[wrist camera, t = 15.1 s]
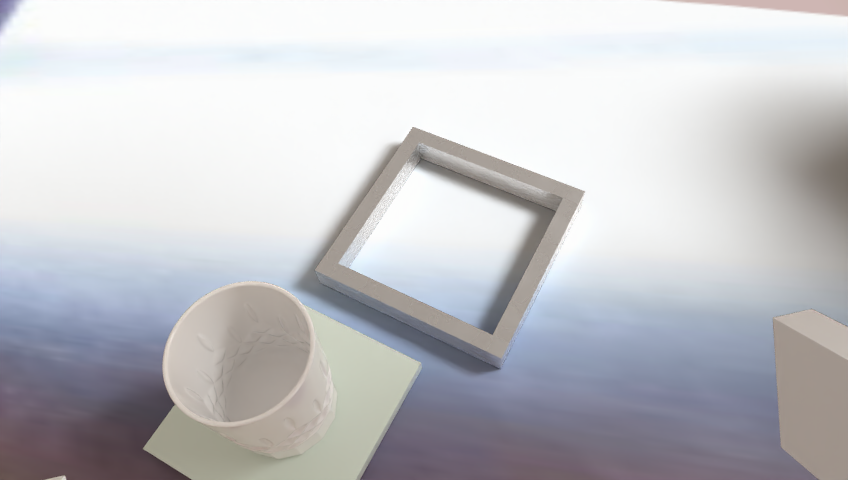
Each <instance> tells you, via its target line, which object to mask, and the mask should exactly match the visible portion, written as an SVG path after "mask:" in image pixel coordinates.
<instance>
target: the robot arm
mask: <svg viewBox="0 0 848 480" xmlns="http://www.w3.org/2000/svg"><path fill="white" fill-rule="evenodd" d="M773 329H774V345H775V361H776V376H777V392H778V408H779V424H780V440H781V448H783V449H784V450H785V451H786V452H787V453H788V454H790V455H791V456H792V457H793V458H794V459H795V460H797V461H798V462H799V463H800V464H801V465H802V466H803V467H805V468H806V469H807V470H808V471H809V472H810V473H812V474H813V475H814V476H815V477H816V478H817V479H819V480H848V327H847V326H845V325H843V324H841V323H839V322H837V321H835V320H833V319H831V318H829V317H827V316H825V315H823V314H821V313H819V312H817V311H815V310H813V309H809V310H805V311H800V312H796V313H791V314H787V315H782V316H778V317H773ZM46 480H66V477H65V475H64V476H59V477H55V478H50V479H46Z"/></svg>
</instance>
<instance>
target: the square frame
mask: <svg viewBox="0 0 848 480" xmlns="http://www.w3.org/2000/svg"><path fill="white" fill-rule="evenodd" d="M420 159H424V160H426V161H429V162H431V163H434V164H437V165H439V166H442V167H444V168H447V169H449V170H452V171H454V172H457V173H460V174H462V175H465V176H467V177H470V178H472V179H475V180H478V181H480V182H483V183H485V184H488V185H490V186H493V187H495V188H498V189H501V190H503V191H506V192H508V193H511V194H513V195H516V196H519V197H521V198H524V199H526V200H529V201H531V202H534V203H536V204H539V205H542V206H544V207H547V208H549V209H552V210H554V211H556V213H555V215H554V217H553V219H552V221H551V223H550V225H549V226H548V228H547V230H546V232H545V234H544V236H543V238H542V240H541V242H540V244H539V246H538V248H537V250H536V252H535V254H534V256H533V258H532V259H531V261H530V263H529V265H528V267H527V269H526V271H525V273H524V275H523V277H522V279H521V281H520V283H519V285H518V287H517V289H516V290H515V292H514V294H513V296H512V298H511V300H510V302H509V304H508V306H507V308H506V310H505V312H504V314H503V316H502V318H501V320H500V322H499V323H498V325H497V327H496V329H495V331H494V333H493V335H491V334H489V333H487V332H485V331H483V330H481V329H478V328H476V327H474V326H472V325H470V324H468V323H466V322H463V321H461V320H459V319H457V318H455V317H453V316H450V315H448V314H446V313H444V312H442V311H440V310H437V309H435V308H433V307H431V306H429V305H427V304H425V303H422V302H420V301H418V300H416V299H414V298H412V297H409V296H407V295H405V294H403V293H401V292H399V291H397V290H394V289H392V288H390V287H388V286H386V285H384V284H381V283H379V282H377V281H375V280H373V279H371V278H368V277H366V276H364V275H362V274H360V273H358V272H356V271H353V270H351V269H349V266H350V265H351V263H352V262H353V260H354V259H355V257H356V256H357V254H358V253H359V251H360V250H361V248H362V247H363V245H364V244H365V242H366V241H367V239H368V238H369V236H370V235H371V233H372V232H373V230H374V229H375V227H376V226H377V224H378V223H379V221H380V220H381V218H382V217H383V215H384V214H385V212H386V211H387V209H388V207H389V206H390V204H391V203H392V201H393V200H394V198H395V197H396V195H397V194H398V192H399V191H400V189H401V188H402V186H403V185H404V183H405V182H406V180H407V179H408V177H409V176H410V174H411V173H412V171H413V170H414V168H415V167H416V165H417V164H418V162H419V161H420ZM584 193H585V191H582V190H580V189H577V188H574V187H572V186H569V185H566V184H564V183H561V182H558V181H556V180H553V179H550V178H548V177H545V176H542V175H540V174H537V173H534V172H532V171H529V170H526V169H524V168H521V167H518V166H516V165H513V164H510V163H508V162H505V161H503V160H500V159H497V158H495V157H492V156H489V155H487V154H484V153H481V152H479V151H476V150H473V149H471V148H468V147H465V146H463V145H460V144H457V143H455V142H452V141H449V140H447V139H444V138H441V137H439V136H436V135H433V134H431V133H428V132H425V131H423V130H420V129H417V128H415V127H413V128H412V129H411V131H410V132H409V134H408V135H407V137H406V138H405V140H404V141H403V142H402V144H401V145H400V147H399V148H398V150H397V151H396V153H395V154H394V156H393V157H392V158H391V160H390V161H389V163H388V164H387V166H386V167H385V169H384V170H383V171H382V173H381V174H380V176H379V177H378V179H377V180H376V182H375V183H374V185H373V186H372V187H371V189H370V190H369V192H368V193H367V195H366V196H365V198H364V199H363V201H362V202H361V203H360V205H359V206H358V208H357V209H356V211H355V212H354V214H353V215H352V217H351V218H350V219H349V221H348V222H347V224H346V225H345V227H344V228H343V230H342V231H341V233H340V234H339V235H338V237H337V238H336V240H335V241H334V243H333V244H332V246H331V247H330V249H329V250H328V251H327V253H326V254H325V256H324V257H323V259H322V260H321V262H320V263H319V265H318V266H317V267H316V269H315V272H316V274H317V277H318V279H319V281H320V283H321V284H323V285H326V286H328V287H330V288H332V289H334V290H336V291H338V292H340V293H342V294H344V295H346V296H348V297H351V298H353V299H355V300H357V301H359V302H361V303H363V304H365V305H367V306H369V307H371V308H374V309H376V310H378V311H380V312H382V313H384V314H386V315H388V316H390V317H392V318H394V319H397V320H399V321H401V322H403V323H405V324H407V325H409V326H411V327H413V328H415V329H417V330H419V331H422V332H424V333H426V334H428V335H430V336H432V337H434V338H436V339H438V340H440V341H442V342H445V343H447V344H449V345H451V346H453V347H455V348H457V349H459V350H461V351H463V352H465V353H468V354H470V355H472V356H474V357H476V358H478V359H480V360H482V361H484V362H486V363H488V364H490V365H493V366H495V367H497V368H499V369H501V367H502V365H503V363H504V361H505V359H506V357H507V355H508V353H509V351H510V349H511V347H512V345H513V343H514V341H515V339H516V337H517V335H518V333H519V331H520V329H521V327H522V325H523V323H524V321H525V319H526V317H527V315H528V313H529V311H530V309H531V307H532V305H533V303H534V301H535V299H536V297H537V295H538V293H539V291H540V289H541V287H542V285H543V283H544V281H545V278H546V276H547V274H548V272H549V270H550V268H551V266H552V264H553V262H554V260H555V258H556V256H557V254H558V252H559V250H560V248H561V246H562V244H563V242H564V240H565V238H566V236H567V234H568V232H569V230H570V228H571V226H572V224H573V222H574V220H575V218H576V216H577V214H578V212H579V210H580V208H581V205H582V201H583V197H584Z"/></svg>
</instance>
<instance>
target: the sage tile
mask: <svg viewBox="0 0 848 480" xmlns="http://www.w3.org/2000/svg"><path fill="white" fill-rule="evenodd" d="M303 306H304V307H305V309H306V310H307V312H308V314H309V316H310V318H311V320H312V323H313V326H314V328H315V331H316V333H317V336H318V338H319V340H320V343H321V346H322V348H323V351H324V353H325V355H326V358H327V361H328V364H329V367H330V370H331V374H332V381H333V383H334V386H335V388H336V391H337V404H336V414H335V419H334V420H333V422H332V424H331V426H330V427H329V429H328V431H327V432H326V434H325V436H324V438H323V439H322V440H321V441H319V442H318V443H317V444H315V445H314V446H313V447H311V448H310V449H309V450H307V451H306V452H304V453H303V454H301V455H296V456H291V457H287V458H282V459H275V458H271V457H267V456H263V455H260V454H256V453H254V452H252V451H251V450H248V449H246V448H244V447H241V446H239V445H237V444H235V443H234V442H232V441H230V440H228V439H226V438H224V437H222V436H221V435H219V434H217V433H216V432H214V431H212V430H211V429H209V428H207V427H206V426H204V425H202V424H201V423H199V422H197V421H195V420H194V419H192V418H190V417H189V416H187V415H186V414H185V413H183V412H182V411H181V410H180V409H179V408H178V407H177V406H176V405H174V406H173V408H172V409H171V410H170V412H169V413H168V415H167V416H166V417H165V419H164V420H163V422H162V423H161V424H160V426H159V427H158V428H157V430H156V431H155V433H154V434H153V435H152V437H151V438H150V440H149V441H148V442H147V444H146V445H145V446H144V448H143V449H144V450H146V451H147V452H149V453H150V454H152V455H154V456H155V457H157V458H158V459H160V460H161V461H163V462H165V463H166V464H168V465H169V466H171V467H173V468H174V469H176V470H177V471H179V472H181V473H182V474H184V475H185V476H187V477H189V478H190V479H192V480H360V479H361V477H362V475H363V473H364V471H365V470H366V468H367V466H368V464H369V462H370V461H371V459H372V457H373V455H374V453H375V452H376V450H377V448H378V446H379V444H380V443H381V441H382V439H383V437H384V436H385V434H386V432H387V430H388V428H389V427H390V425H391V423H392V421H393V419H394V418H395V416H396V414H397V412H398V410H399V409H400V407H401V405H402V403H403V401H404V400H405V398H406V396H407V394H408V392H409V391H410V389H411V387H412V385H413V383H414V382H415V380H416V378H417V376H418V374H419V373H420V371H421V369H422V365H421V363H420V362H418V361H416V360H414V359H412V358H410V357H408V356H406V355H404V354H402V353H400V352H398V351H396V350H394V349H392V348H390V347H388V346H386V345H384V344H382V343H380V342H378V341H376V340H374V339H372V338H370V337H368V336H366V335H364V334H362V333H360V332H358V331H356V330H354V329H352V328H350V327H348V326H346V325H344V324H342V323H339V322H337V321H335V320H333V319H331V318H329V317H327V316H325V315H323V314H321V313H319V312H317V311H315V310H313V309H311V308H309V307H307V306H305V305H303Z"/></svg>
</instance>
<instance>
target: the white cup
mask: <svg viewBox="0 0 848 480" xmlns="http://www.w3.org/2000/svg"><path fill="white" fill-rule="evenodd" d="M163 378H164V382H165V386H166V389H167V391H168V393H169V395H170V397H171V399H172V400H173V402H174V403H175V405H176V406H177V407H178V408H179V409H180V410H181V411H182V412H183V413H185V414H186V415H187V416H189V417H190V418H192V419H194V420H195V421H197V422H199V423H201V424H202V425H204V426H206V427H207V428H209V429H211V430H212V431H214V432H216V433H217V434H219V435H221V436H222V437H224V438H226V439H228V440H230V441H232V442H234V443H235V444H237V445H239V446H241V447H244V448H246V449H248V450H251V451H252V452H254V453H256V454H260V455H263V456H267V457H271V458H275V459H282V458H287V457H291V456H296V455H301V454H303V453H304V452H306V451H307V450H309V449H310V448H311V447H313V446H314V445H315V444H317V443H318V442H319V441H321V440H322V439H323V438H324V436H325V434H326V432H327V431H328V429H329V427H330V426H331V424H332V422H333V420H334V419H335V414H336V404H337V391H336V388H335V386H334V383H333V381H332V374H331V370H330V367H329V364H328V361H327V358H326V355H325V353H324V351H323V348H322V346H321V343H320V340H319V338H318V336H317V333H316V331H315V328H314V326H313V323H312V320H311V318H310V316H309V314H308V312H307V310H306V309H305V307H304V306H303V304H302V303H301V302H300V301H299V300H298V299H297V298H296V297H295V296H294V295H292V294H291V293H290V292H288V291H286V290H285V289H283V288H281V287H278V286H276V285H273V284H269V283H265V282H256V281H247V282H238V283H233V284H229V285H226V286H223V287H220V288H218V289H216V290H214V291H212V292H210V293H208V294H206V295H205V296H203V297H202V298H200V299H199V300H197V301H196V302H195V303H194V304H193V305H191V306H190V307H189V308H188V309H187V310H186V311H185V312H184V314H183V315H182V316H181V317H180V319H179V320H178V321H177V323H176V324H175V326H174V328H173V329H172V331H171V333H170V335H169V338H168V340H167V343H166V346H165V350H164V355H163Z"/></svg>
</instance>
